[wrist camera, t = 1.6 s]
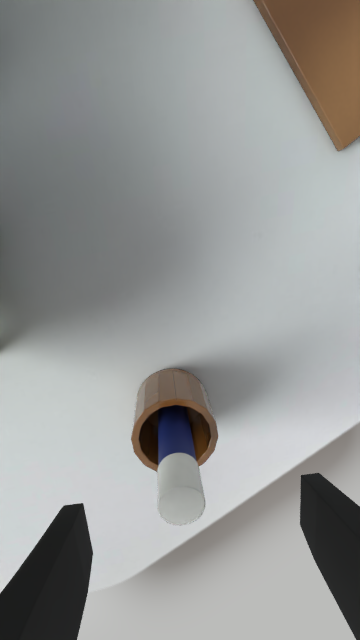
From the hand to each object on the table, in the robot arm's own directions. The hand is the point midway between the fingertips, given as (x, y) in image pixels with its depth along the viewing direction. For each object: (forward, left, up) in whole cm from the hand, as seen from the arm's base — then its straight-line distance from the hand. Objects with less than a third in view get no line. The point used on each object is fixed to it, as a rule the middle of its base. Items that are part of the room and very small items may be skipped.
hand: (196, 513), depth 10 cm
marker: (0, +1, -10) cm, 10 cm away
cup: (0, +1, -10) cm, 10 cm away
